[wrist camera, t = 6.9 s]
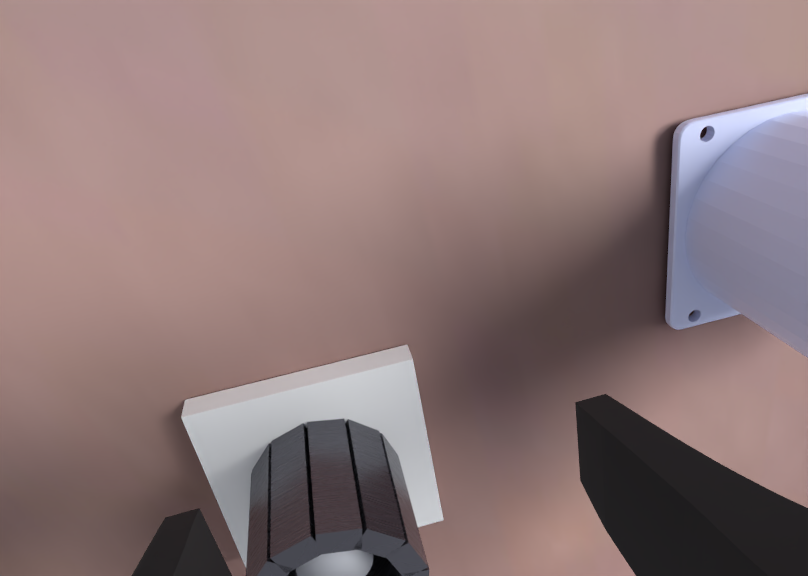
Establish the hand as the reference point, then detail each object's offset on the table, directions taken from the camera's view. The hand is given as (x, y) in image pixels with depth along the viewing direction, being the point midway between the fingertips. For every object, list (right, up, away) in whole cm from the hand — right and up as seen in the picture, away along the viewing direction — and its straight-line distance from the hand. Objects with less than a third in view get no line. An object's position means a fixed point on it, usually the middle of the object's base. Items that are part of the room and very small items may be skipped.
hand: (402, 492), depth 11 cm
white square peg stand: (-3, -3, +12) cm, 12 cm away
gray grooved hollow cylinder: (-3, -3, +11) cm, 12 cm away
